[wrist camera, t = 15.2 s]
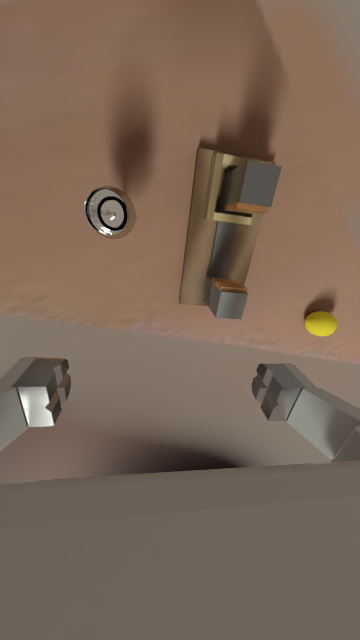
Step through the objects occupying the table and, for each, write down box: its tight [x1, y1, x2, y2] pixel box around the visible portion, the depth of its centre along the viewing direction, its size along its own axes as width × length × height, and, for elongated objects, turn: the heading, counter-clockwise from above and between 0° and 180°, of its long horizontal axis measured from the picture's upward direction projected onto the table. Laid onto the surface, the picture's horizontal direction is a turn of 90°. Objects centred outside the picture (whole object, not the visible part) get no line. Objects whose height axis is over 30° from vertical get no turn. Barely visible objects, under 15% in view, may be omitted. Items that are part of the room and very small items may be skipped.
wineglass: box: [84, 186, 136, 239], centre depth 28 cm, size 6×6×12 cm
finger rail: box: [179, 148, 275, 319], centre depth 32 cm, size 12×24×12 cm, turn 173°
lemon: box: [304, 311, 337, 336], centre depth 44 cm, size 7×5×5 cm
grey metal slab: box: [218, 160, 282, 214], centre depth 28 cm, size 5×4×9 cm
